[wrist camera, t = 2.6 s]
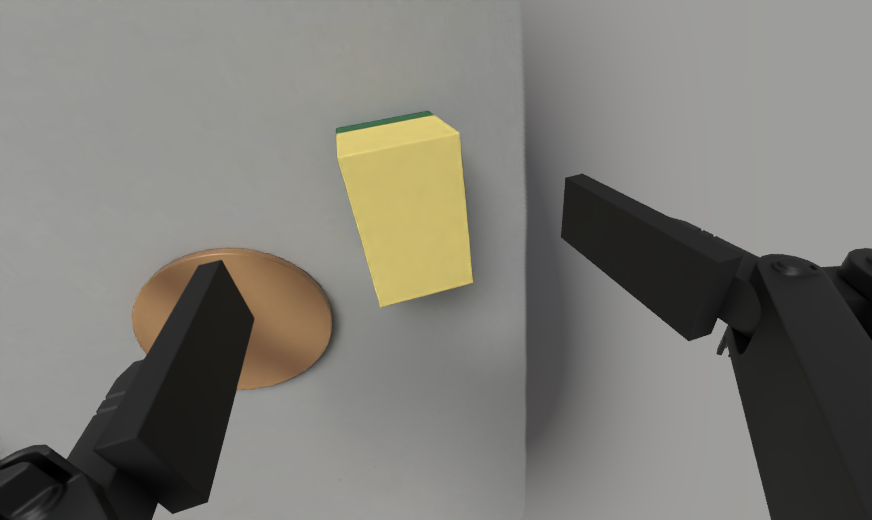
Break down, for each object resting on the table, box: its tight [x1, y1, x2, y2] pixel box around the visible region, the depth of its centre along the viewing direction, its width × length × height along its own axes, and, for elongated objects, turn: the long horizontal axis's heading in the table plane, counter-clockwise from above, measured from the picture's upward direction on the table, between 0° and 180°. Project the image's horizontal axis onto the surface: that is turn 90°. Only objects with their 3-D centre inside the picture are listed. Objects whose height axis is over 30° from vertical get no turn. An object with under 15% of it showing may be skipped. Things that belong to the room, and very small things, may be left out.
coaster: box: [132, 248, 332, 390], centre depth 20 cm, size 10×10×1 cm
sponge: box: [336, 111, 473, 307], centre depth 17 cm, size 7×4×5 cm, turn 8°
